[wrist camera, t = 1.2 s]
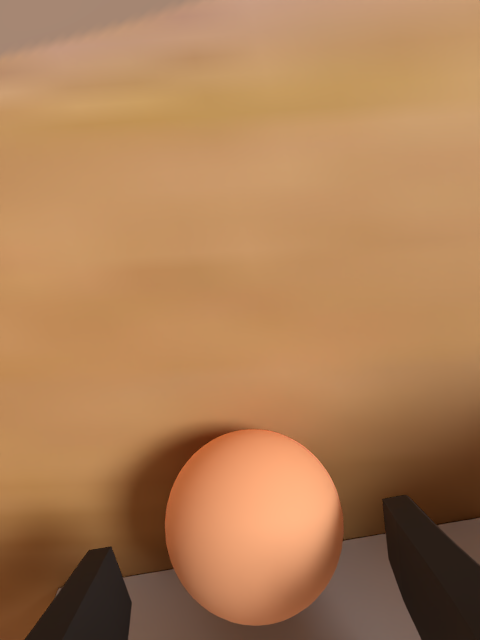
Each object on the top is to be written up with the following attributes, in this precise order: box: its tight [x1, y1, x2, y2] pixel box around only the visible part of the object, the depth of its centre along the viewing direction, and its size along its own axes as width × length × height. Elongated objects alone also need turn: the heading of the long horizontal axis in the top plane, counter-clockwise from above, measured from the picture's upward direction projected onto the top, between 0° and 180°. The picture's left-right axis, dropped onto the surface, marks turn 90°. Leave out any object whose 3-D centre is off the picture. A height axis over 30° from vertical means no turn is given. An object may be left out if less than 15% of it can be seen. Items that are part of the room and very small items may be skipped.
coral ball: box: [165, 429, 344, 626], centre depth 13 cm, size 5×5×5 cm
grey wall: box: [54, 518, 480, 640], centre depth 15 cm, size 16×1×4 cm, turn 101°
